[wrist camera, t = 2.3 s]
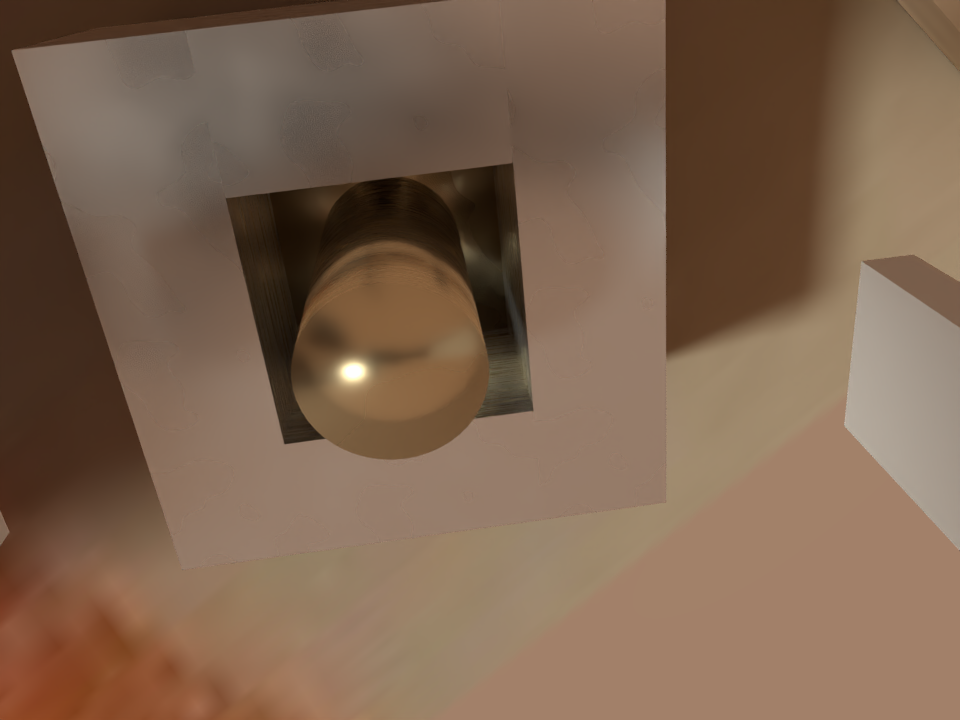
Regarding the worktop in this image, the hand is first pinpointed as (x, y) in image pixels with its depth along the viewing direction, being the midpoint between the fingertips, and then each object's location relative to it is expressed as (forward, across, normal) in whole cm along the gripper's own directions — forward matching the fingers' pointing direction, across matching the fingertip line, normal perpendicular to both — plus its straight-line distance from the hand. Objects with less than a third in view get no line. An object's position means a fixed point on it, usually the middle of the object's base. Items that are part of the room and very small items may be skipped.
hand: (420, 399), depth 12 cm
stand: (+9, -1, 0) cm, 9 cm away
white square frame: (+7, 0, 0) cm, 7 cm away
